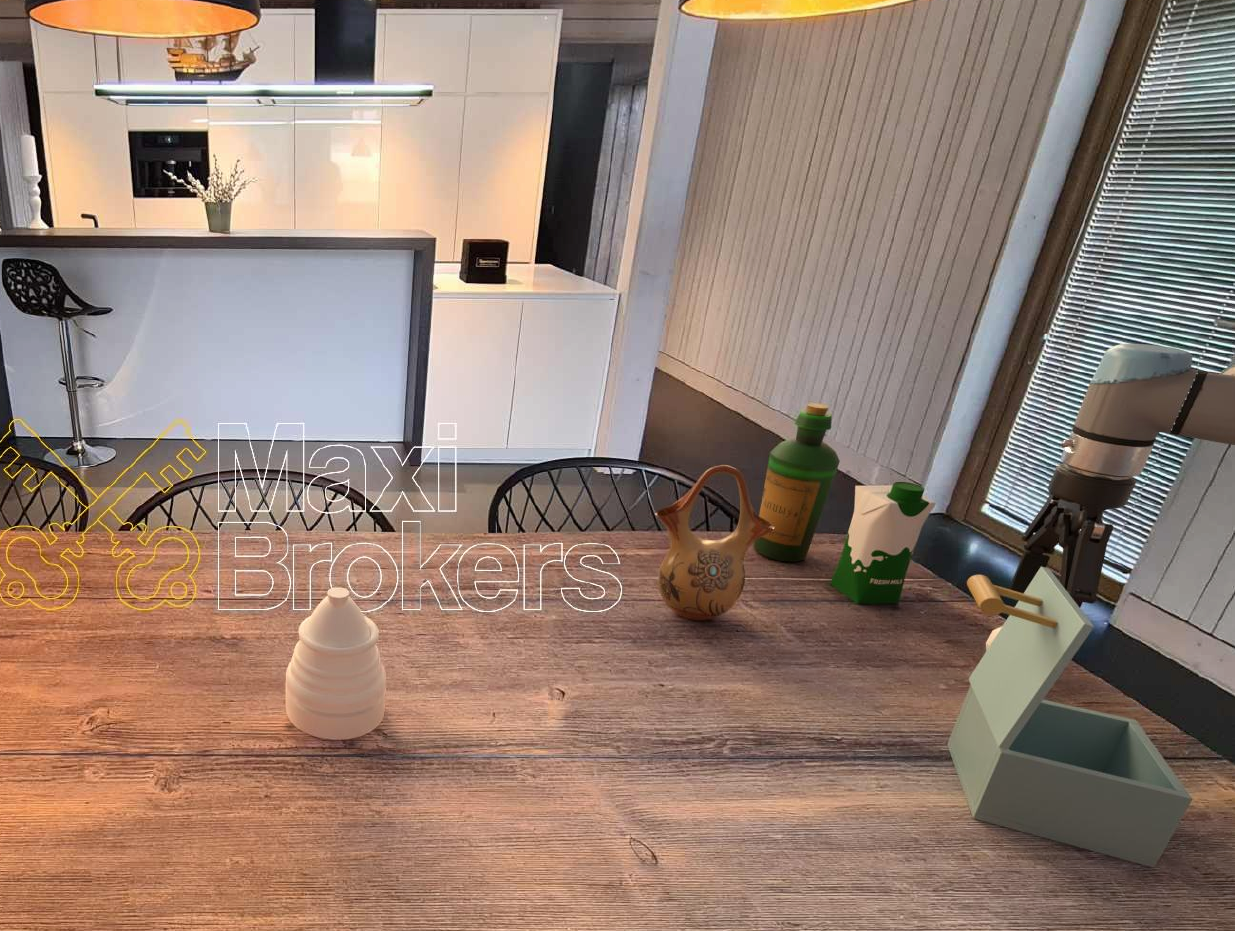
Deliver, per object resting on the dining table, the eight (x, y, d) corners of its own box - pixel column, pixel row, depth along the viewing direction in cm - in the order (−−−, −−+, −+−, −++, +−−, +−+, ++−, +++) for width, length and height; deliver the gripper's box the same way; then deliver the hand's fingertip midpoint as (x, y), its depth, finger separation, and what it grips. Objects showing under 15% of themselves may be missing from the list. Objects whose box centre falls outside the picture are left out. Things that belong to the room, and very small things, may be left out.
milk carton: (856, 607, 130) (892, 492, 122) (820, 581, 138) (852, 471, 130) (908, 606, 130) (947, 491, 122) (869, 580, 138) (904, 471, 131)
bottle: (734, 542, 152) (769, 398, 141) (787, 540, 154) (825, 397, 143) (770, 567, 143) (810, 414, 132) (826, 565, 144) (870, 413, 133)
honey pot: (386, 742, 98) (394, 613, 91) (281, 737, 99) (281, 609, 91) (383, 681, 110) (389, 562, 103) (289, 677, 110) (289, 559, 103)
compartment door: (1049, 568, 88) (971, 546, 90) (1094, 626, 76) (1003, 599, 79) (976, 681, 95) (905, 658, 97) (1007, 750, 83) (926, 721, 86)
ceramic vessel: (639, 620, 125) (669, 469, 116) (635, 594, 133) (662, 450, 124) (755, 637, 121) (796, 481, 111) (744, 609, 129) (781, 461, 119)
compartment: (1104, 783, 92) (1136, 719, 89) (1154, 868, 81) (1193, 799, 77) (946, 744, 98) (970, 683, 95) (972, 818, 87) (1001, 752, 84)
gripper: (1030, 438, 113) (978, 573, 121) (1093, 497, 92) (1024, 654, 101) (1100, 447, 110) (1041, 584, 118) (1181, 509, 89) (1102, 670, 98)
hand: (1033, 617), depth 109 cm, fingers open, 13 cm apart
